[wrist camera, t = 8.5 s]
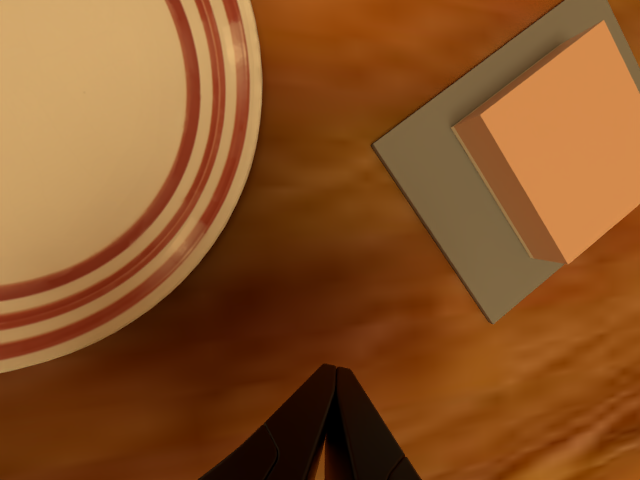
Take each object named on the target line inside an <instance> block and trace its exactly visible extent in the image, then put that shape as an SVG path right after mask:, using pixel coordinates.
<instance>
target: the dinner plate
mask: <svg viewBox="0 0 640 480" xmlns="http://www.w3.org/2000/svg"><path fill="white" fill-rule="evenodd" d="M261 106H262V64H261V53H260V43H259V38H258V32H257V27H256V21H255V16H254V13H253V9H252V5H251V1H250V0H0V373H3V372H8V371H12V370H17V369H21V368H25V367H29V366H33V365H36V364H40V363H43V362H47V361H50V360H53V359H56V358H58V357H61V356H64V355H67V354H70V353H73V352H75V351H77V350H80V349H82V348H84V347H87V346H89V345H91V344H93V343H95V342H98V341H100V340H102V339H103V338H105V337H107V336H109V335H111V334H113V333H115V332H117V331H118V330H120V329H122V328H123V327H125V326H127V325H128V324H130V323H131V322H133V321H134V320H136V319H137V318H139V317H140V316H141V315H143V314H144V313H146V312H147V311H148V310H150V309H151V308H153V307H154V306H155V305H156V304H158V303H159V302H160V301H161V300H162V299H164V298H165V297H166V296H167V295H168V294H170V293H171V292H172V291H173V290H174V289H175V288H176V287H177V286H178V285H179V284H180V283H181V282H182V281H183V280H184V279H185V278H186V277H187V276H188V275H189V274H190V273H191V272H192V270H193V269H194V268H195V267H196V266H197V265H198V264H199V263H200V261H201V260H202V259H203V257H204V256H205V255H206V253H207V252H208V251H209V250H210V248H211V247H212V245H213V244H214V242H215V241H216V239H217V238H218V236H219V235H220V233H221V232H222V230H223V229H224V227H225V226H226V224H227V222H228V220H229V218H230V216H231V214H232V212H233V210H234V208H235V206H236V204H237V202H238V200H239V197H240V195H241V193H242V191H243V188H244V186H245V184H246V181H247V178H248V175H249V172H250V169H251V165H252V162H253V158H254V154H255V150H256V145H257V140H258V133H259V127H260V118H261Z"/></svg>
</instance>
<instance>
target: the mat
mask: <svg viewBox="0 0 640 480" xmlns="http://www.w3.org/2000/svg"><path fill="white" fill-rule="evenodd" d="M603 20H604V21H605V23H606V25H607V27H608V29H609V31H610V33H611V35H612V37H613V40H614V42H615V44H616V46H617V48H618V50H619V52H620V54H621V56H622V58H623V60H624V62H625V64H626V66H627V68H628V70H629V73H630V75H631V77H632V79H633V81H634V83H635V85H636V87H637V89H638V91H639V93H640V68H639V66H638V64H637V62H636V60H635V58H634V56H633V53H632V51H631V49H630V47H629V45H628V43H627V41H626V39H625V37H624V35H623V33H622V30H621V28H620V26H619V24H618V22H617V20H616V18H615V16H614V14H613V12H612V10H611V7H610V5H609V3H608V1H607V0H564V1H563V2H561V3H560V4H559V5H557V6H556V7H555V8H553V9H552V10H551V11H549V12H548V13H547V14H545V15H544V16H543V17H541V18H540V19H539V20H537V21H536V22H535V23H533V24H532V25H531V26H529V27H528V28H527V29H525V30H524V31H523V32H521V33H520V34H519V35H517V36H516V37H515V38H513V39H512V40H511V41H509V42H508V43H507V44H505V45H504V46H503V47H501V48H500V49H499V50H497V51H496V52H495V53H493V54H492V55H491V56H489V57H488V58H487V59H485V60H484V61H483V62H481V63H480V64H479V65H477V66H476V67H475V68H473V69H472V70H471V71H469V72H468V73H467V74H465V75H464V76H463V77H461V78H460V79H459V80H457V81H456V82H455V83H453V84H452V85H451V86H449V87H448V88H447V89H445V90H444V91H443V92H441V93H440V94H439V95H437V96H436V97H435V98H433V99H432V100H431V101H429V102H428V103H427V104H425V105H424V106H423V107H421V108H420V109H419V110H417V111H416V112H415V113H413V114H412V115H411V116H409V117H408V118H407V119H405V120H404V121H403V122H401V123H400V124H399V125H397V126H396V127H395V128H393V129H392V130H391V131H389V132H388V133H387V134H385V135H384V136H383V137H381V138H380V139H379V140H377V141H376V142H375V143H373V144H372V145H371V147H372V148H373V150H374V151H375V153H376V154H377V156H378V157H379V159H380V160H381V162H382V163H383V165H384V166H385V168H386V169H387V171H388V172H389V174H390V175H391V176H392V178H393V179H394V181H395V182H396V184H397V185H398V187H399V188H400V190H401V191H402V193H403V194H404V196H405V197H406V199H407V200H408V202H409V203H410V205H411V206H412V208H413V209H414V211H415V212H416V214H417V215H418V217H419V218H420V220H421V221H422V223H423V224H424V226H425V227H426V229H427V230H428V232H429V233H430V235H431V236H432V238H433V239H434V241H435V242H436V244H437V245H438V247H439V248H440V250H441V251H442V253H443V254H444V256H445V257H446V259H447V260H448V262H449V263H450V265H451V266H452V268H453V269H454V271H455V272H456V274H457V275H458V277H459V278H460V280H461V281H462V283H463V284H464V286H465V287H466V289H467V290H468V292H469V293H470V295H471V296H472V298H473V299H474V301H475V302H476V304H477V305H478V307H479V308H480V310H481V311H482V313H483V314H484V316H485V317H486V319H487V320H488V322H489V323H491V324H494V323H495V322H496V321H498V320H499V319H500V318H501V317H502V316H504V315H505V314H506V313H507V312H508V311H509V310H511V309H512V308H513V307H514V306H515V305H517V304H518V303H519V302H520V301H521V300H523V299H524V298H525V297H526V296H527V295H528V294H530V293H531V292H532V291H533V290H534V289H536V288H537V287H538V286H539V285H540V284H541V283H543V282H544V281H545V280H546V279H547V278H549V277H550V276H551V275H552V274H553V273H555V272H556V271H557V270H558V269H559V268H560V267H562V266H563V265H564V264H563V263H557V262H551V261H545V260H540V259H534V258H530V256H529V255H528V253H527V252H526V250H525V248H524V247H523V245H522V243H521V242H520V240H519V238H518V237H517V235H516V234H515V232H514V230H513V229H512V227H511V225H510V224H509V222H508V220H507V219H506V217H505V216H504V214H503V212H502V211H501V209H500V207H499V206H498V204H497V202H496V201H495V199H494V198H493V196H492V194H491V193H490V191H489V189H488V188H487V186H486V185H485V183H484V181H483V180H482V178H481V176H480V175H479V173H478V171H477V170H476V168H475V167H474V165H473V163H472V162H471V160H470V158H469V157H468V155H467V153H466V152H465V150H464V149H463V147H462V145H461V144H460V142H459V140H458V139H457V137H456V135H455V134H454V132H453V131H452V129H451V127H453V126H454V125H455V124H456V123H458V122H459V121H460V120H462V119H463V118H464V117H466V116H467V115H468V114H470V113H471V112H472V111H473V110H475V109H476V108H477V107H479V106H480V105H481V104H483V103H484V102H485V101H487V100H488V99H489V98H490V97H492V96H493V95H494V94H496V93H497V92H498V91H500V90H501V89H502V88H504V87H505V86H506V85H508V84H509V83H510V82H511V81H513V80H514V79H515V78H517V77H518V76H519V75H521V74H522V73H523V72H525V71H526V70H527V69H528V68H530V67H531V66H532V65H534V64H535V63H536V62H538V61H539V60H540V59H542V58H543V57H544V56H545V55H547V54H548V53H549V52H551V51H552V50H553V49H555V48H556V47H557V46H559V45H560V44H562V43H563V42H565V41H567V40H569V39H571V38H572V37H574V36H576V35H578V34H580V33H581V32H583V31H585V30H587V29H588V28H590V27H592V26H594V25H596V24H597V23H599V22H601V21H603Z"/></svg>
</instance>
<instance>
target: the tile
mask: <svg viewBox="0 0 640 480" xmlns="http://www.w3.org/2000/svg"><path fill="white" fill-rule="evenodd" d="M451 129H452V131H453V132H454V134H455V135H456V137H457V139H458V140H459V142H460V144H461V145H462V147H463V149H464V150H465V152H466V153H467V155H468V157H469V158H470V160H471V162H472V163H473V165H474V167H475V168H476V170H477V171H478V173H479V175H480V176H481V178H482V180H483V181H484V183H485V185H486V186H487V188H488V189H489V191H490V193H491V194H492V196H493V198H494V199H495V201H496V202H497V204H498V206H499V207H500V209H501V211H502V212H503V214H504V216H505V217H506V219H507V220H508V222H509V224H510V225H511V227H512V229H513V230H514V232H515V234H516V235H517V237H518V238H519V240H520V242H521V243H522V245H523V247H524V248H525V250H526V252H527V253H528V255H529V256H530V258H534V259H540V260H545V261H551V262H557V263H563V264H569V263H570V262H572V261H573V260H574V259H575V258H576V257H578V256H579V255H580V254H581V253H582V252H583V251H585V250H586V249H587V248H588V247H589V246H591V245H592V244H593V243H594V242H595V241H596V240H598V239H599V238H600V237H601V236H602V235H604V234H605V233H606V232H607V231H608V230H609V229H611V228H612V227H613V226H614V225H615V224H617V223H618V222H619V221H620V220H621V219H622V218H624V217H625V216H626V215H627V214H628V213H630V212H631V211H632V210H633V209H634V208H635V207H637V206H638V205H639V204H640V93H639V91H638V89H637V87H636V85H635V83H634V81H633V79H632V77H631V75H630V73H629V70H628V68H627V66H626V64H625V62H624V60H623V58H622V56H621V54H620V52H619V50H618V48H617V46H616V44H615V42H614V40H613V37H612V35H611V33H610V31H609V29H608V27H607V25H606V23H605V21H604V20H603V21H601V22H599V23H597V24H596V25H594V26H592V27H590V28H588V29H587V30H585V31H583V32H581V33H580V34H578V35H576V36H574V37H572V38H571V39H569V40H567V41H565V42H563V43H562V44H560V45H559V46H557V47H556V48H555V49H553V50H552V51H551V52H549V53H548V54H547V55H545V56H544V57H543V58H542V59H540V60H539V61H538V62H536V63H535V64H534V65H532V66H531V67H530V68H528V69H527V70H526V71H525V72H523V73H522V74H521V75H519V76H518V77H517V78H515V79H514V80H513V81H511V82H510V83H509V84H508V85H506V86H505V87H504V88H502V89H501V90H500V91H498V92H497V93H496V94H494V95H493V96H492V97H490V98H489V99H488V100H487V101H485V102H484V103H483V104H481V105H480V106H479V107H477V108H476V109H475V110H473V111H472V112H471V113H470V114H468V115H467V116H466V117H464V118H463V119H462V120H460V121H459V122H458V123H456V124H455V125H454V126H453V127H451Z"/></svg>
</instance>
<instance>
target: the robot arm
mask: <svg viewBox="0 0 640 480" xmlns="http://www.w3.org/2000/svg"><path fill="white" fill-rule="evenodd" d="M325 437H326V439H325ZM324 441H325V480H422V479H421V478H420V476H419V475H418V474H417V472H416V471H415V469H414V467H413V466H412V464H411V463H410V461H409V460H408V458H407V457H405V454H404V453H403V451H402V449H401V448H400V446H399V445H398V443H397V442H396V440H395V438H394V437H393V435H392V434H391V432H390V431H389V429H388V427H387V426H386V424H385V423H384V421H383V420H382V418H381V416H380V415H379V413H378V412H377V410H376V408H375V407H374V405H373V404H372V402H371V401H370V399H369V397H368V396H367V394H366V393H365V391H364V390H363V388H362V386H361V385H360V383H359V382H358V380H357V379H356V377H355V375H354V374H353V372H352V371H351V370H350V369H348V368H343V367H337V369H336V366H334V365H329V364H322V365H321V366H320V367H319V368H318V369H317V370H316V371H315V372H314V373H313V374H312V375H311V376H310V377H309V379H308V380H307V381H306V382H305V383H304V384H303V385H302V386H301V387H300V388H299V389H298V390H297V391H296V392H295V393H294V394H293V395H292V396H291V397H290V398H289V399H288V400H287V401H286V402H285V403H284V404H283V405H282V406H281V407H280V408H279V409H278V410H277V411H276V412H275V413H274V414H273V415H272V416H271V417H270V418H269V419H268V420H267V421H266V422H265V423H264V424H263V425H261V426H260V427H259V428H258V429H257V430H256V431H255V432H254V433H253V434H252V435H251V436H250V437H249V438H248V439H247V440H246V441H245V442H244V443H243V444H242V445H241V446H240V447H238V448H237V449H236V450H235V451H234V452H232V453H231V454H230V455H229V456H227V457H226V458H225V459H224V460H222V461H221V462H220V463H219V464H217V465H216V466H215V467H213V468H212V469H211V470H210V471H208V472H207V473H206V474H204V475H203V476H202V477H200V478H199V479H198V480H315V476H316V472H317V468H318V465H319V461H320V457H321V454H322V450H323V446H324Z"/></svg>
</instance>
